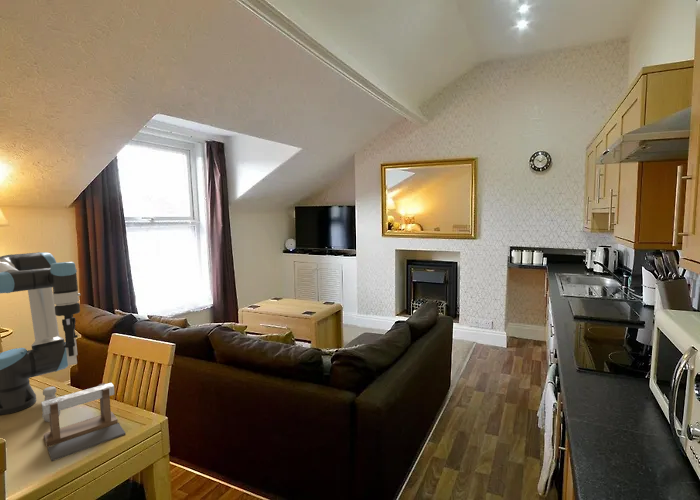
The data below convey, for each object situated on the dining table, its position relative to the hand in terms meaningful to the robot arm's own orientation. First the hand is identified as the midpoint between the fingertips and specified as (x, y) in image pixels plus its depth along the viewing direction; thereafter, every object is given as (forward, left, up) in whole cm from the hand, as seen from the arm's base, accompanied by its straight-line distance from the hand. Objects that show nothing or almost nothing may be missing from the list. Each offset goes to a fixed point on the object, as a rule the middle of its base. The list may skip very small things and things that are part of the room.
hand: (72, 359), depth 145 cm
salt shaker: (-15, -6, -27) cm, 32 cm away
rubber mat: (+12, +1, -27) cm, 30 cm away
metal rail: (+2, +1, -16) cm, 16 cm away
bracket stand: (+2, +1, -27) cm, 27 cm away
